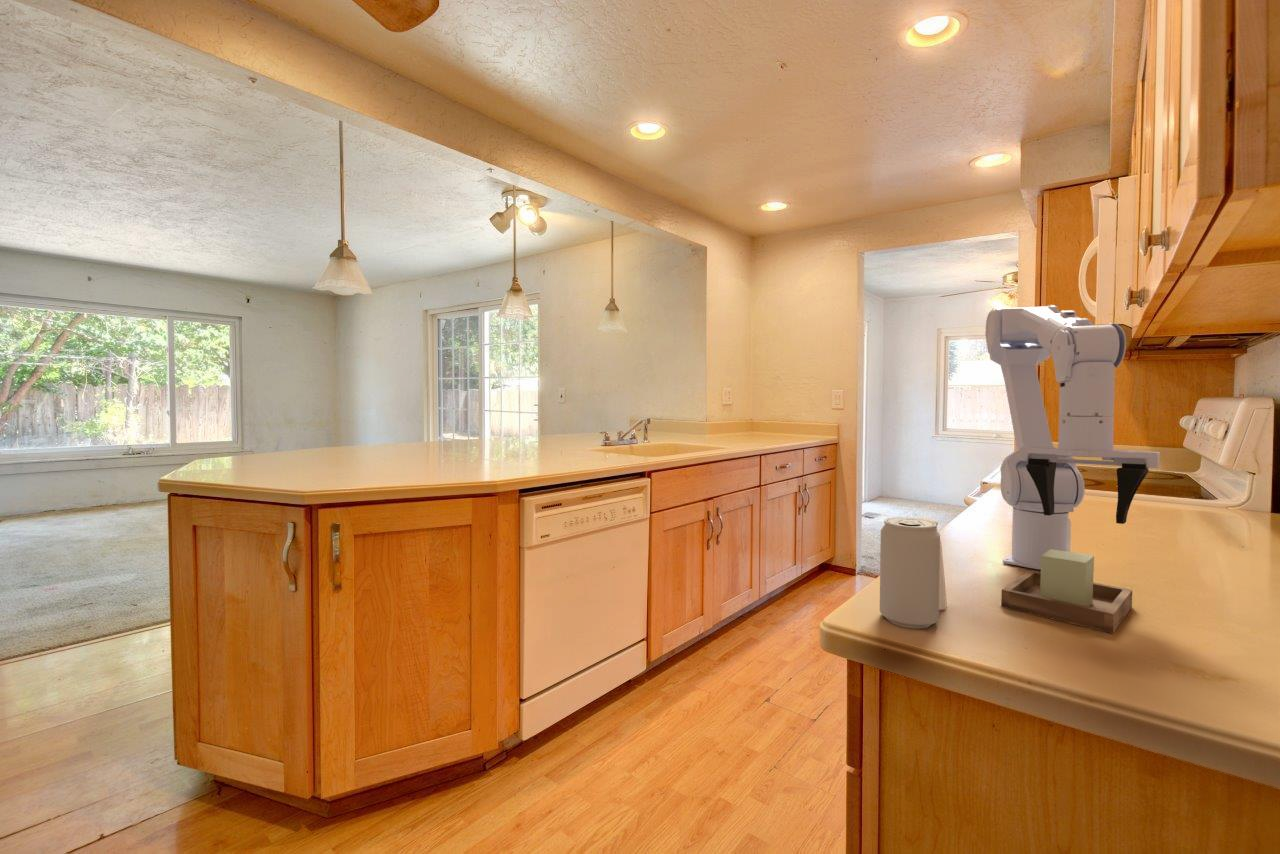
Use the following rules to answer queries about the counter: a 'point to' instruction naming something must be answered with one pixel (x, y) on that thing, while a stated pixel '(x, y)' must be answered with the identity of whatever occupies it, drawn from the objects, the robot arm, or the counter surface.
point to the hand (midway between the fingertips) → (1083, 518)
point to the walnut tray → (1099, 615)
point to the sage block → (1067, 577)
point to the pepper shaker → (940, 576)
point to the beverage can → (909, 572)
